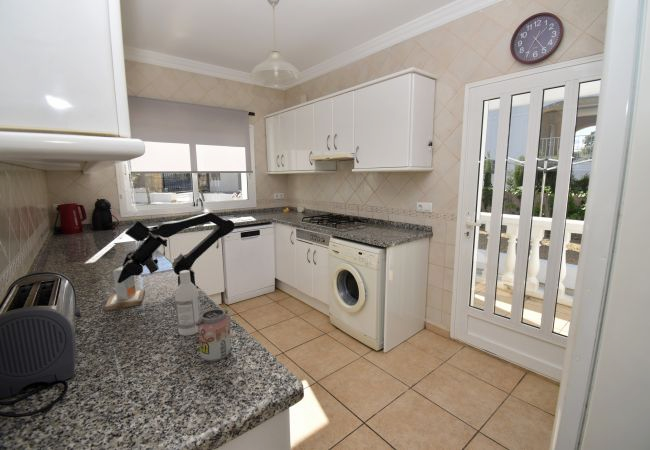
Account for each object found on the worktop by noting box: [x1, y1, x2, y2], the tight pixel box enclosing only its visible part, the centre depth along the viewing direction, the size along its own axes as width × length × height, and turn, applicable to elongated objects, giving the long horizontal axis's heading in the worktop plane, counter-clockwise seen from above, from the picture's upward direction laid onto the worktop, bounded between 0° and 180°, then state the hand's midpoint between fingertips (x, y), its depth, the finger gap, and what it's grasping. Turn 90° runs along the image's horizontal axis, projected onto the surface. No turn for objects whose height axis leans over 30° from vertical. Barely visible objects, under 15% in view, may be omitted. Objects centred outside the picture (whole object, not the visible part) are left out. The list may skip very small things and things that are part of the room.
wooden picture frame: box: [104, 288, 146, 311], centre depth 122 cm, size 12×14×2 cm
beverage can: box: [195, 308, 232, 362], centre depth 84 cm, size 9×8×12 cm
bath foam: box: [174, 270, 202, 337], centre depth 96 cm, size 7×7×20 cm
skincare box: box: [112, 266, 137, 299], centre depth 121 cm, size 6×4×12 cm
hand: (119, 278), depth 120 cm, fingers open, 9 cm apart
